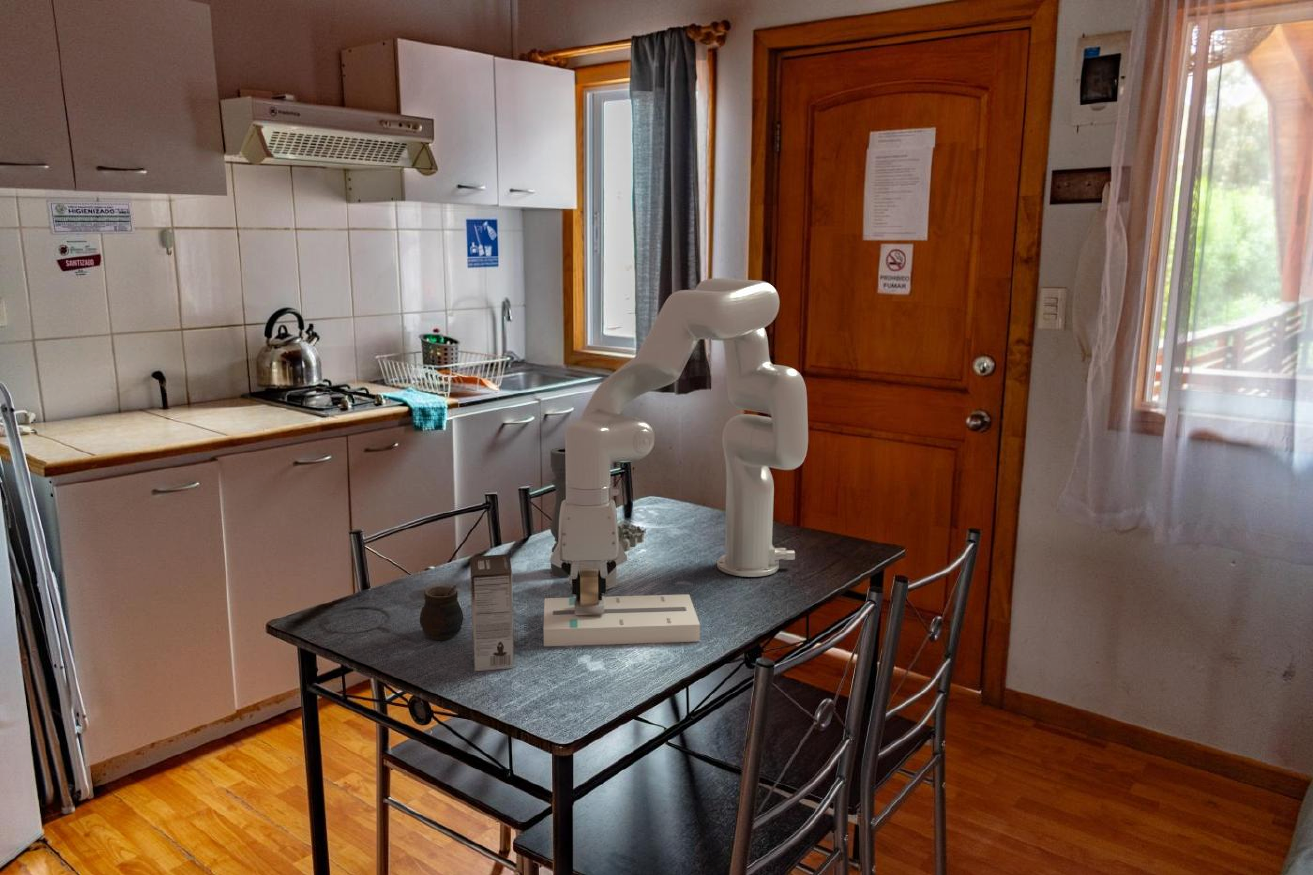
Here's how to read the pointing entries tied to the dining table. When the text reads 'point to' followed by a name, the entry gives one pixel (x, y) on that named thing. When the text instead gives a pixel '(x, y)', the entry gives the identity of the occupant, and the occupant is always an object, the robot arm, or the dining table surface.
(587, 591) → the fader
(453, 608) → the mate gourd
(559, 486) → the candle holder
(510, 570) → the coffee box
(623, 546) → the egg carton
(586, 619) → the console
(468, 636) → the dining table surface
